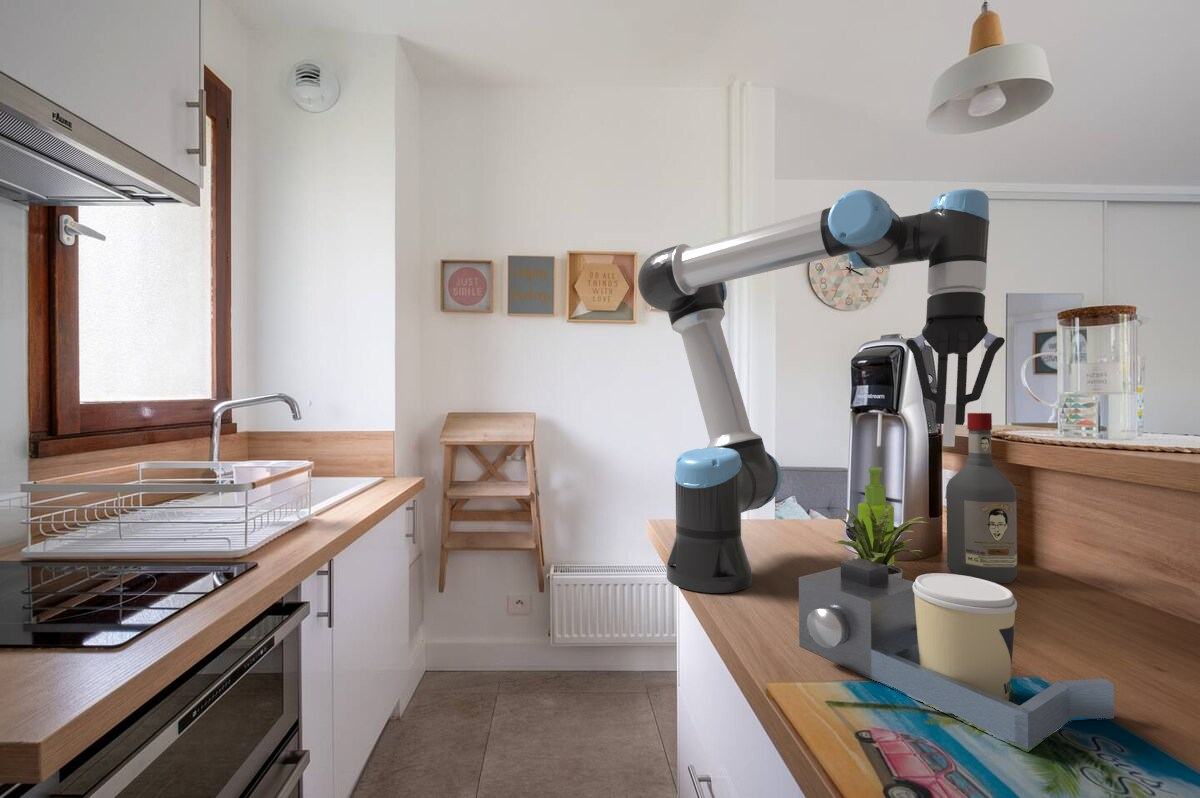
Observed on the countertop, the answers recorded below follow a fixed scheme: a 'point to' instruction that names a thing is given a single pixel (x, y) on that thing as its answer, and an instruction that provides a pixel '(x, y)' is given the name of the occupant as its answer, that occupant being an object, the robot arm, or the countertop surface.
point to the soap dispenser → (875, 506)
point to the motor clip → (891, 655)
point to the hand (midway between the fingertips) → (948, 445)
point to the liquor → (981, 512)
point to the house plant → (879, 539)
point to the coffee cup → (966, 630)
